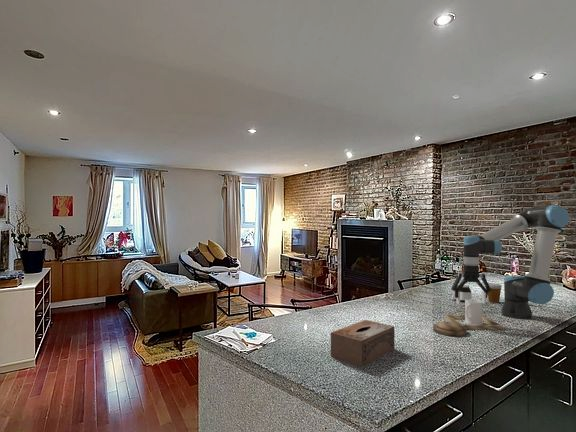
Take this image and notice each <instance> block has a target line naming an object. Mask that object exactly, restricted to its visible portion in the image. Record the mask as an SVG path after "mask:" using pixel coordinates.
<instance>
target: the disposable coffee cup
mask: <svg viewBox="0 0 576 432" xmlns="http://www.w3.org/2000/svg"><path fill="white" fill-rule="evenodd" d="M488 284H489V286H490V288H491V291H489V293H488V296H487V297H488V298H487V299H488V303H490V304H491V303H493V304H499V303H500V300H501V299H500V298H501V292H502V288H503V286H502V285H501V284H499V283H492V282H491V283H490V282H488Z"/></svg>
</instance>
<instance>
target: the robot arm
mask: <svg viewBox="0 0 576 432" xmlns="http://www.w3.org/2000/svg"><path fill="white" fill-rule="evenodd" d="M569 222H570V214H569V212H568V210H567V209H566V208H565V207H563V206H561V205H557V204H556V205H553V204H550V205H538V206H532V207H530V208H528V209H525V210H523V211H521V212H519V213H517V214H515V215H514V216H513V218H511V219H509V220H507V221H505V222H504V223H502V224H499V225H497V226H495V227H494V228H492V229H490V230H487V231H486V232H484V233H481V234H480V235H466V236H465V235H464V237H463V243H462V245H463V246H462V247H463V255H462V256H463V258H462V259H463V265H462V266H463V272H462V273H459V272H457V274H456V275H457V276H456V278H455V280H454V282H453V284H452V286H451V288H450V289H451V290H452V291H453V292H454V291H455V300H456V302H455V303H456V304H457V305H461V302H460V292H459V290H460V289H461V288H462V287H463V286H464V285H465V284H468V283H476V284H477V285H478V287H480V289H481V290H482V292H481V301H482V306H487V299H488V293H489V291H491V288H490V286H489V284H488V283H489V282H488V281H487V278H486V274H484V273H480V255H482V254H483V255H489V254H490V255H497V254H500V253H501V252H502V250H503V246H502V242H501V240H503V239H505V238H508V237H510V236H512V235H513V234H515V233H517V232H519V231H521V230H527V229H530V228H534V229H535V230H536V231H537V232H536V237H535V241H534V242H535V243H534V247H533V252H532V257H531V261H530V266H529V271H528V273H527V274H525V275H506V276H504V280H503V287H504V289H503V291H504V302H503V304H502V306H501V310H500V313H501V315H502V316H505V317H509V318H512V319H532V318H533V312H532V309H531V306H530V304H529V302H530V303H532V304H537V305H546V304H547V303H549V302H551V300H552V299H553V298H554V294H555V290H554V288H553V286H552V285H551V279H550V278H549V273H550V268H551V265H552V259H553V254H554V249H555V244H556V239H557V235H558V234H559V233H561V232H562V228H563V227H565V226H566V225H568V224H569ZM479 278H480V279H481V281H482V282H481V281H480V279H479ZM458 284H459V285H458Z"/></svg>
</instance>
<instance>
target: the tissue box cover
mask: <svg viewBox="0 0 576 432" xmlns="http://www.w3.org/2000/svg"><path fill="white" fill-rule="evenodd" d="M395 344H396V342H395V326H394V325H391V324H386V323H382V322H377V321H373V320H368V319H364V320H361V321H358V322H356V323H353V324H349V325H347V326H344V327H341V328H338V329H336V330H333V331H331V332H330V357H332V358H334V359H336V360H337V359H338V360H340V361H343V362H345V363H349V364H352V365H354V366H357V367H361V368H362V367H364V366H366V365H368V364H369V363H371V362H373V361H375V360H377V359H379V358H381V357H382V356H385V355H386V354H388V353H390V352H392V351H393V350H395Z"/></svg>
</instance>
